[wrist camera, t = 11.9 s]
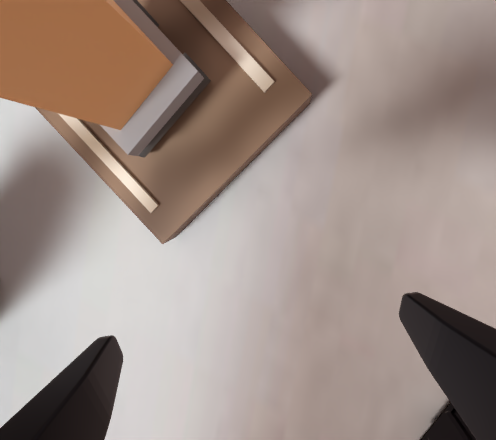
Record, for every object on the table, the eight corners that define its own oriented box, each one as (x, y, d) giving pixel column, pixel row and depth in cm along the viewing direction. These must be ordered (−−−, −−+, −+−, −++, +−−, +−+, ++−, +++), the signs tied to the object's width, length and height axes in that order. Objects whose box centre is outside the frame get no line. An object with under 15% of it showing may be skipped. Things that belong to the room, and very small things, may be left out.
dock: (309, 103, 17) (312, 93, 15) (174, 237, 20) (161, 244, 18) (146, -74, 17) (126, -110, 15) (37, 90, 20) (7, 79, 18)
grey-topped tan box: (216, 87, 16) (-62, -247, 3) (153, 160, 18) (-206, 119, 5) (140, 5, 16) (-435, -649, 3) (83, 85, 17) (-464, -154, 5)
